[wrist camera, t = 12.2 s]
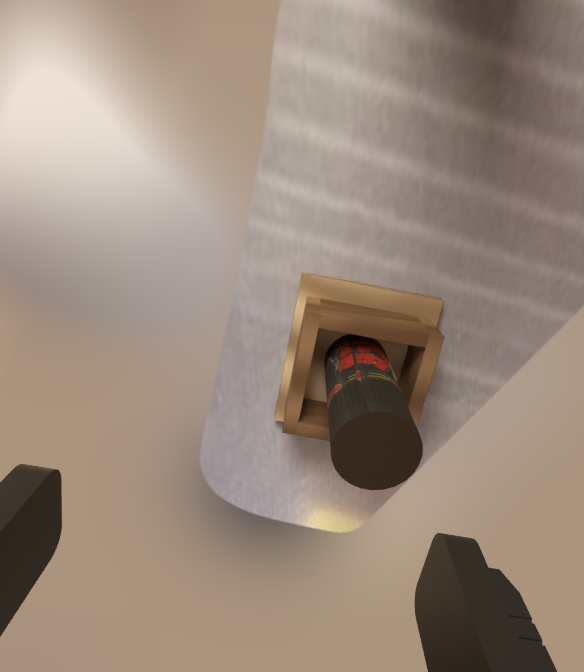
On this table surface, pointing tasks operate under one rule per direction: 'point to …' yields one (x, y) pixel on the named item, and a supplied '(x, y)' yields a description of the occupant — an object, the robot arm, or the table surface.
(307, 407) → the holder
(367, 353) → the deodorant
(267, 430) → the table surface
